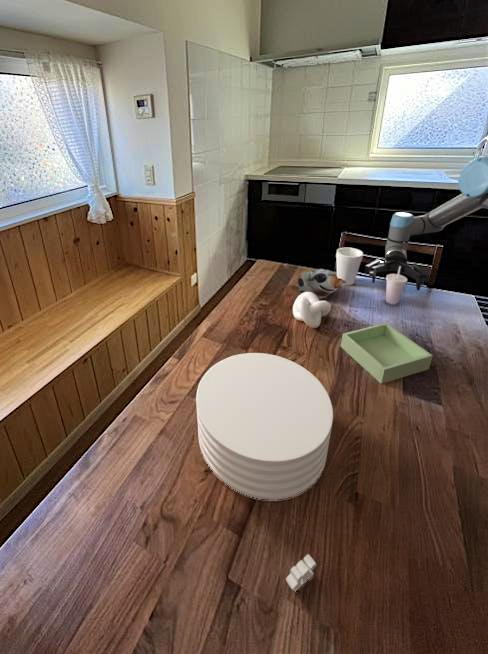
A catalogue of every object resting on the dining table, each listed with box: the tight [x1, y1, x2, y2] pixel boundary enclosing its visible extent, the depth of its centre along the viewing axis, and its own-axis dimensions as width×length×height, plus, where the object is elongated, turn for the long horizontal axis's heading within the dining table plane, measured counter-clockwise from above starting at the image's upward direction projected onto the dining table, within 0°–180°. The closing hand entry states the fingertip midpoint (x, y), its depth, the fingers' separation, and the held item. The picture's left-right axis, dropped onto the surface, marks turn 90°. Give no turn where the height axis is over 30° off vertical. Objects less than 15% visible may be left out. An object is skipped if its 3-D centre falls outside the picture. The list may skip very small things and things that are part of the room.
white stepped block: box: [285, 553, 318, 593], centre depth 52 cm, size 5×1×4 cm, turn 120°
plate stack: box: [195, 352, 334, 502], centre depth 74 cm, size 28×28×12 cm
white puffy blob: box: [292, 292, 332, 329], centre depth 111 cm, size 11×12×9 cm
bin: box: [340, 322, 434, 384], centre depth 95 cm, size 16×16×5 cm
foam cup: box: [335, 246, 364, 286], centre depth 133 cm, size 10×9×13 cm
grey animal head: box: [296, 268, 346, 301], centre depth 125 cm, size 15×12×14 cm
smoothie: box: [385, 266, 408, 305], centre depth 118 cm, size 6×6×14 cm
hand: (395, 283), depth 117 cm, fingers open, 13 cm apart
